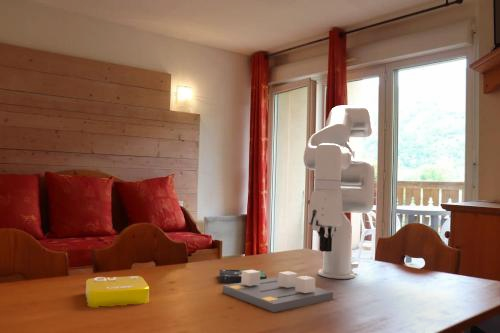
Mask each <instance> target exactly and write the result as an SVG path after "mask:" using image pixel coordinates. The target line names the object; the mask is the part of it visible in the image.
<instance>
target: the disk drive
mask: <svg viewBox="0 0 500 333" xmlns="http://www.w3.org/2000/svg"><path fill="white" fill-rule="evenodd" d="M245 270H246V269H219V283H220V284H235V283H241V279H242V271H245ZM255 270H256V271H259V272H260V280H261V279H268V277H267V274H266V273H265V271H264V270H262V269H261V270H257V269H255Z"/></svg>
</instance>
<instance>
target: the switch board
mask: <svg viewBox="0 0 500 333" xmlns="http://www.w3.org/2000/svg"><path fill="white" fill-rule="evenodd" d="M278 278H279V276H275V277H267V279H261V280H260V284H259V285H253V286H247V285H244V284H241V283H228V284H223V285H222V293H223V294H225V295H228V296H231V297H233V298H235V299H239V300H241V301H243V302H246V303H249V304H252V305H254V306H256V307H257V306H258V307H260V308H262V309H264V310H267V311H270V312H272V313H277V312H281V311H285V310H291V309H295V308H300V307H305V306H308V305H313V304H318V303H322V302H326V301H331V300H333V299H334V291H331V290H327V289H323V288H320V287H317V286H315V291H314V292H309V293H302V292H299V291H296V290H295V286H294V287H288V288H286V287H283V286H280V285H278Z"/></svg>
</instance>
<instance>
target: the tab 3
mask: <svg viewBox="0 0 500 333" xmlns="http://www.w3.org/2000/svg"><path fill="white" fill-rule="evenodd" d="M315 287H316V277H313V276H309V275H302V276H297V277H296V285H295V290H296V291H299V292H302V293H309V292H314V291H315Z"/></svg>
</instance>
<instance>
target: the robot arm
mask: <svg viewBox="0 0 500 333" xmlns="http://www.w3.org/2000/svg"><path fill="white" fill-rule="evenodd" d="M373 132H374V118H373V115H372V111H371V109H370V108H369V107H368V106H366V105H362V104H361V105H358V104H357V105H337V106H335V107H333V108H332V109H331V110H330V112H329V114H328V117H327V119H326V121H325V127H323V128H322V129H320V130H318V131H317V132H315V133H313V134H312V135H311V136H310V137H309V138H308V140H307V142H306V145H305V147H304V150H303V151H304V152H303V164H304V167H306V169H308V170H310V171H314V186H313V189H314V190H312V192H311V194H310V195H311V196H310V200H309V201H310V202H309V206H308V217H307V218H308V220H307V221H308V224H309V225H310V226H311V230H312V231H315V232H317V234H318V237H319V251H321V252H322V254H323V256H322V268H320V269H319V270H318V275H319V276H322V277H324V278H329V279H336V280H346V279H347V280H348V279H349V280H350V279H354V278H355V277H356V273H355V271H353V269H357V268H358V267H359V263H358V262H357V261H355V262H352V237H353V236H352V228H353V226H352V223H351V221H350V219H349V218H348V217H347V215H346V213H356V214H366V213H367V214H368V213H370V212H371V211H373V208H374V202H375V200H374V199H375V182H376V181H375V179H376V178H375V177H376V175H375V166H374V164H373V162H371V160H367V159H355V156H356V154H355V149H354V147H353V146H352V145H351V144H350V142H348V141H349V140H350V138H367V137H370V136H371V135H372V134H373Z"/></svg>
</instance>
